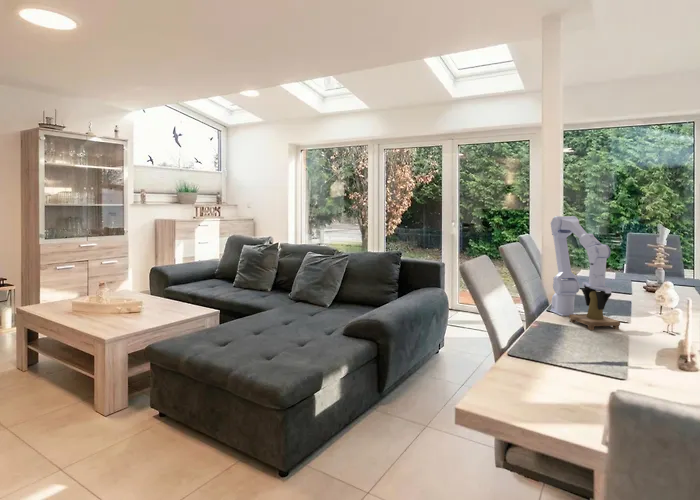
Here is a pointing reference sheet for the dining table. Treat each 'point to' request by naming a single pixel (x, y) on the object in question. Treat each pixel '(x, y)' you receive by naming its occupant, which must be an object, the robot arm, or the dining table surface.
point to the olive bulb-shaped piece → (594, 307)
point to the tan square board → (594, 321)
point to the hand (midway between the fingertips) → (594, 307)
